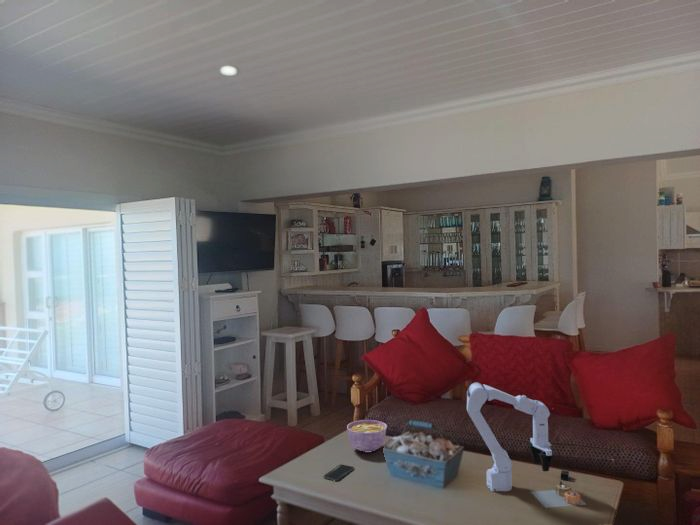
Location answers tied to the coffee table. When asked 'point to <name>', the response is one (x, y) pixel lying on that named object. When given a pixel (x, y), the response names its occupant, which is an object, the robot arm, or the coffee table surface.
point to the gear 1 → (562, 489)
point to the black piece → (564, 475)
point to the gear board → (553, 498)
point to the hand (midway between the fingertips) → (541, 466)
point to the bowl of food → (367, 434)
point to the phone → (338, 472)
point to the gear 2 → (572, 497)
